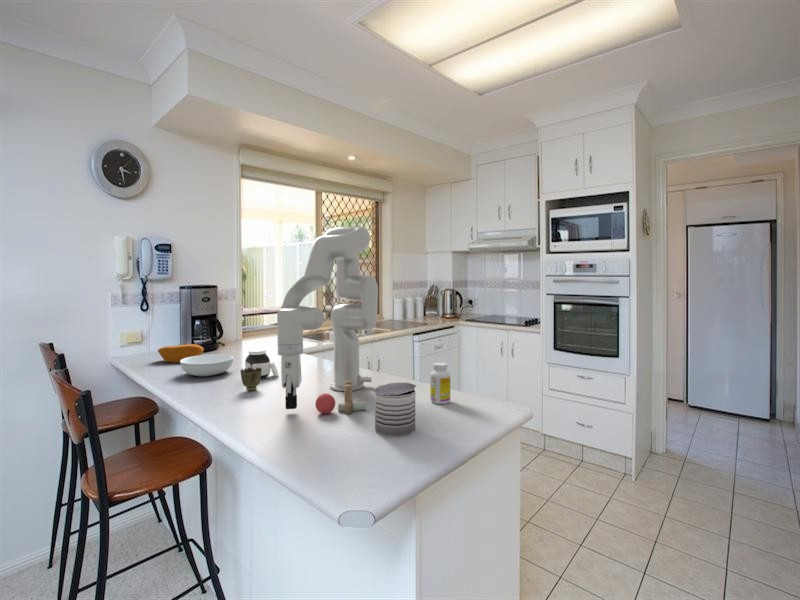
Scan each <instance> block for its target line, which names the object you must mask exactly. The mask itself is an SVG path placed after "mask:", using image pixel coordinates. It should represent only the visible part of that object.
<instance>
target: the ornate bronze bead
mask: <svg viewBox="0 0 800 600" xmlns="http://www.w3.org/2000/svg"><path fill="white" fill-rule="evenodd" d="M261 372H262V368H258V367H257V368H256V369H253V367H252V368H250V367H249V368H248V369H246V368H242V369H240V371H239V373H240V378H241V381H242V384H243V385H242V386H244V387H246V389H245V390H246V391H247V392H255V391H257V389H258V388H257V386H259V385H260V382H261V380H262V379H261ZM254 390H255V391H254Z"/></svg>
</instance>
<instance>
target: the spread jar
mask: <svg viewBox="0 0 800 600" xmlns="http://www.w3.org/2000/svg"><path fill="white" fill-rule="evenodd" d="M244 367H245V368H246V369H248V368H249V367H250V368H252V367H253V369H256V368H257V367H258V368H262V372H261V380H263V378H264V379H266V378H268V377H269V376H270V374H271V373H272V375H273V376H274V377H277V376H279V371H278V369H277V366H276V364H275V362H274V361H273V360H271V359H270V358H269V356H268V355H267V349H266V348H252V349H249V350H248V355H247V356H246V358H245V361H244ZM245 368H244V369H245Z"/></svg>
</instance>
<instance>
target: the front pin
mask: <svg viewBox="0 0 800 600" xmlns="http://www.w3.org/2000/svg"><path fill="white" fill-rule="evenodd" d="M337 405H338V406H337V407H338V408H337V409H338V412H345V402H343V403H342V402H341V403H340V402H339V403H338V404H337ZM355 411H356V412H357V411H367V404H366V402H364V401H363V402H353V412H355Z"/></svg>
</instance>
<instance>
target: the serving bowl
mask: <svg viewBox="0 0 800 600" xmlns="http://www.w3.org/2000/svg"><path fill="white" fill-rule="evenodd" d="M233 362H234V356H233V355H229V354H219V353H218V354H215V353H214V354H213V353H212V354H211V353H210V354H202V355H199V356H192V357H187V358H184V359H182V360H180V363H179V364H180V367H181V369H182V371H184V372H185V373H186V374H189V375H192V376H195V377H196V376H197V377H212V376H217V375H218V374H223V373H225V372H226V371H228V370H229V369H230V368H231V367H232V364H233Z"/></svg>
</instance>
